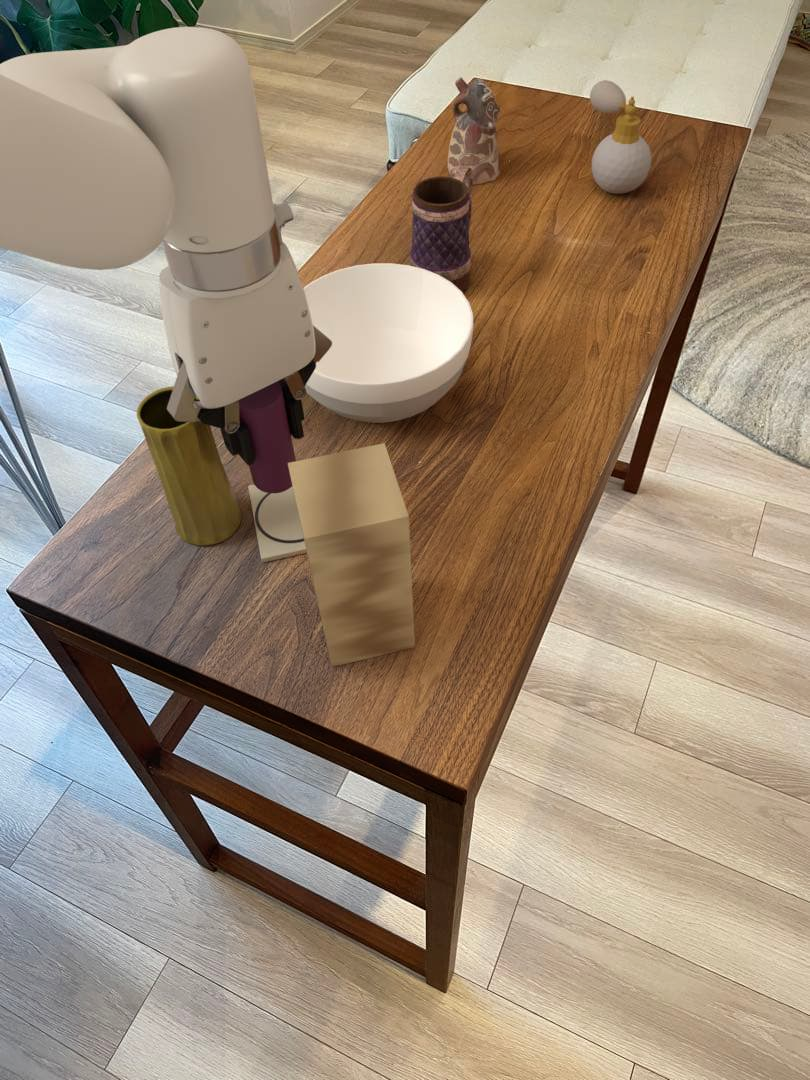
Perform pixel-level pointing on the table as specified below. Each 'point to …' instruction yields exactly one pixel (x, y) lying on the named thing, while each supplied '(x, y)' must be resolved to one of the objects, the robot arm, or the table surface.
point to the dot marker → (268, 438)
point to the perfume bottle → (619, 143)
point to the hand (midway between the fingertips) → (267, 440)
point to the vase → (189, 472)
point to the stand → (357, 551)
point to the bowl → (387, 340)
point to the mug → (443, 225)
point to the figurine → (475, 131)
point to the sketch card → (276, 524)
